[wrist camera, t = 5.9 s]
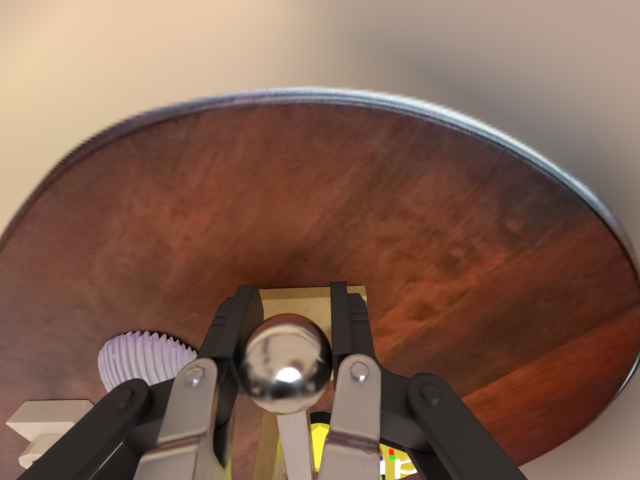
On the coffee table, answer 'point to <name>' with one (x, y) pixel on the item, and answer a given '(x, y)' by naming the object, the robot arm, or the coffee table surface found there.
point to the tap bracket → (318, 309)
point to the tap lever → (288, 382)
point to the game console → (391, 453)
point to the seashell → (142, 358)
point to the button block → (46, 424)
